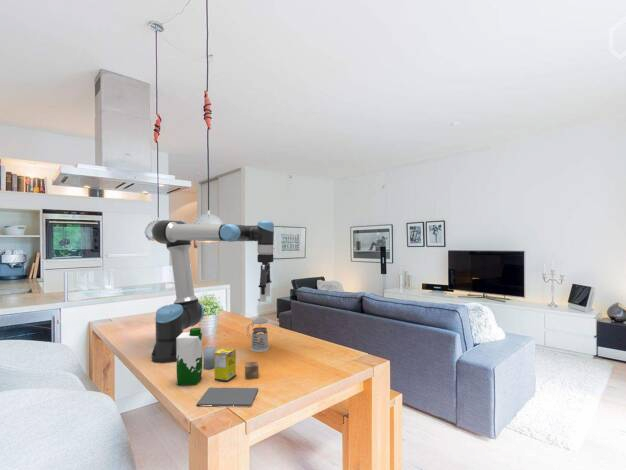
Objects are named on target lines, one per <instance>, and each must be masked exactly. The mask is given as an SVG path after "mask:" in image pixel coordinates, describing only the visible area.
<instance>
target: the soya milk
mask: <svg viewBox="0 0 626 470" xmlns="http://www.w3.org/2000/svg"><path fill="white" fill-rule="evenodd" d="M201 328H202V327H193V328H190V329H189V331H188V332H187V331H186V332H185V331H183V333H181V334H180V335H179V336H178V337H177V338H176V343H177V361H176V381H177V383H176V384H177V385H179V386H194V385H195V386H197V385H198V384H197V383H199V381H200V380H201V379H202V374H203V373H202V372H203V331H201ZM196 384H197V385H196ZM177 385H176V386H177Z"/></svg>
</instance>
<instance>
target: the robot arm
mask: <svg viewBox="0 0 626 470" xmlns="http://www.w3.org/2000/svg"><path fill="white" fill-rule="evenodd" d="M274 233H275V229H274V222H273V221H272V220H271V221H268V220H261V221H258V222H257V225H242V224H233V223H226V224H219V223H218V224H216V223H212V224H211V223H208V224H207V223H203V224H202V223H200V224H199V223H188V222H187V221H186V222H185V221H181V220H167V219H166V220H165V219H162V220H159V221H157V222H156V223H154V225H153V226H152V229H151V236H152V238H153V239H154V240H155V241H156V242H157V243H159V244H162V245H163V244H165V246H166V249H167V250H168V251H169V252H170V257H171V258H170V259H171V265H172V266H171V267H172V273H173V282H174V287H175V288H174V290H175V295H176V296H175V297H176V299H175V300H174V302H173V304H169V305H168V304H166V305H163V306H161V307H159V308H158V309H157V310H156V311H155V317H154V318H155V319H154V320H155V343H154V345H153V349H152V353H151V355H150V356H151V359H152V360H151V362H153V361H154V363H158V362H160V363H161V364H164V363H166V362H167V363H173V362H177V343H176V338H177V337H178V336H179V335H180V334H181V333H184V330H186V329H189V328H190V327H195V326H196V325H197V324H199V323H200V322H202V320H203V318H204V316H205V309H204V305H203V304H202V303H201V302H199V298H198V297H197V296H196V295H195V289H194V284H193V283H194V282H193V281H194V280H193V275H192V266H191V259H190V253H189V249H190V247H191V246H192V244H191V242H192V241H199V242H200V241H202V242H203V241H204V242H205V241H209V242H210V241H211V242H230V243H231V242H257V247H256V248H257V255H256V256H257V262H258V263H261V264H260V274H259V275H260V277H259V285H258V288H259V299H260V301H259V303H262V302H264V303H266V302H267V297H270V296H271V284H272V280H271V263H274V257H275V256H274V254H273V253H274V250H275V248H276V247H275V246H274V241H275V240H274V236H275V234H274ZM160 363H159V364H160Z"/></svg>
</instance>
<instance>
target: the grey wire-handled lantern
mask: <svg viewBox="0 0 626 470" xmlns="http://www.w3.org/2000/svg"><path fill="white" fill-rule="evenodd" d="M257 301H258V302H260V298H258V299H257ZM268 321H269V319H267V318H264V317H261V316H259V317H256V318H254V319H253V320H251V323H250V324H249V325H248V326H247V328H246V329H247V333H246V335H247V337H248V338H250V339H251V347H250V348H249V350H250V352H255V353H260V352H261V353H262V352H267V351H269V350H270V346H269V345H268V339H269V337H268V331H267V330H268V328H267V327H263V326H262V327H261V326H257V327H254V324H255V325H256V324H257V325H261V324H262V325H263V324H267V323H268ZM250 326H251V327H254V328H253V329H252V333H251V334H250V333H249V330H250V329H249V328H250Z"/></svg>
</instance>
